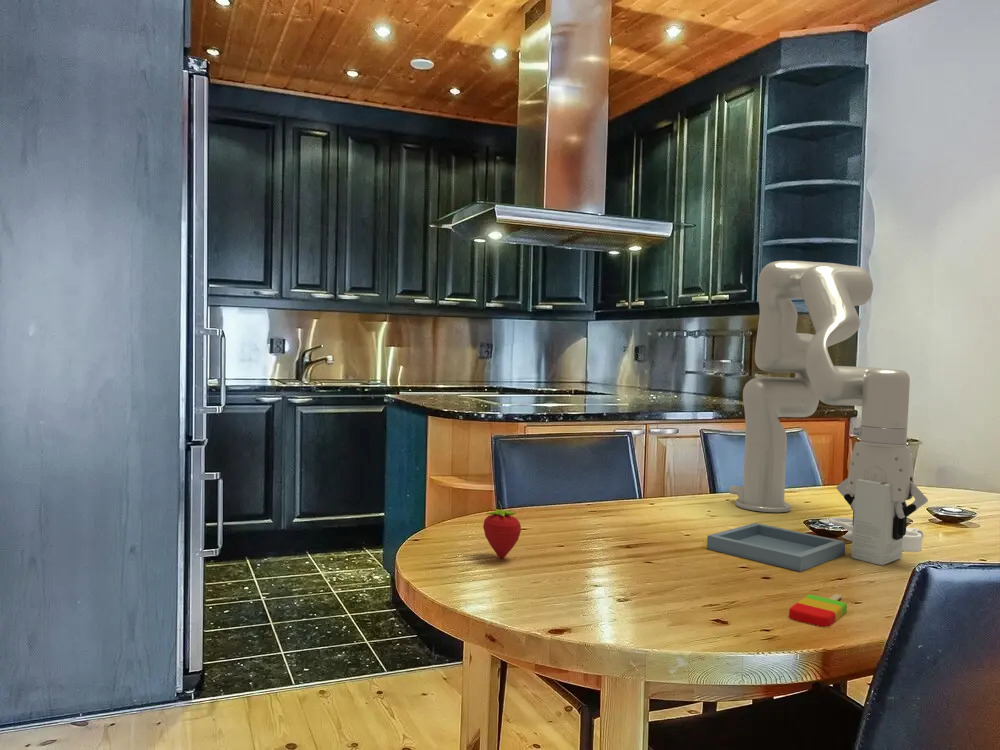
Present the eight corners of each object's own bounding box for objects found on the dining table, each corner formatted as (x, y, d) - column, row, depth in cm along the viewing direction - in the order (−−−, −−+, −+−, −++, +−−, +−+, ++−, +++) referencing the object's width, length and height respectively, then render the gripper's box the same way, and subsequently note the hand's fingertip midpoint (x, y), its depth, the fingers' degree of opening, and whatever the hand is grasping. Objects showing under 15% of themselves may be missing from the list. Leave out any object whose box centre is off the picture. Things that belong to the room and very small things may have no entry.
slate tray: (706, 548, 140) (707, 535, 140) (754, 535, 152) (755, 522, 152) (800, 571, 127) (801, 557, 127) (844, 554, 139) (845, 541, 139)
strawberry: (500, 566, 124) (502, 506, 124) (474, 555, 130) (476, 498, 130) (528, 561, 128) (530, 503, 127) (501, 551, 134) (503, 495, 133)
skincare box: (870, 552, 142) (874, 474, 141) (904, 559, 137) (908, 478, 137) (849, 558, 137) (853, 477, 136) (883, 566, 132) (887, 482, 131)
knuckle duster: (939, 547, 150) (905, 557, 141) (851, 528, 164) (815, 536, 155) (940, 530, 149) (906, 539, 141) (852, 513, 164) (816, 520, 155)
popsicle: (785, 621, 104) (786, 608, 104) (819, 596, 116) (820, 584, 115) (827, 632, 100) (827, 618, 100) (858, 605, 112) (858, 593, 112)
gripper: (827, 433, 140) (822, 528, 141) (928, 443, 127) (922, 548, 128) (843, 431, 145) (839, 523, 146) (942, 441, 132) (937, 541, 133)
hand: (878, 534), depth 137 cm, fingers closed on skincare box, 6 cm apart
